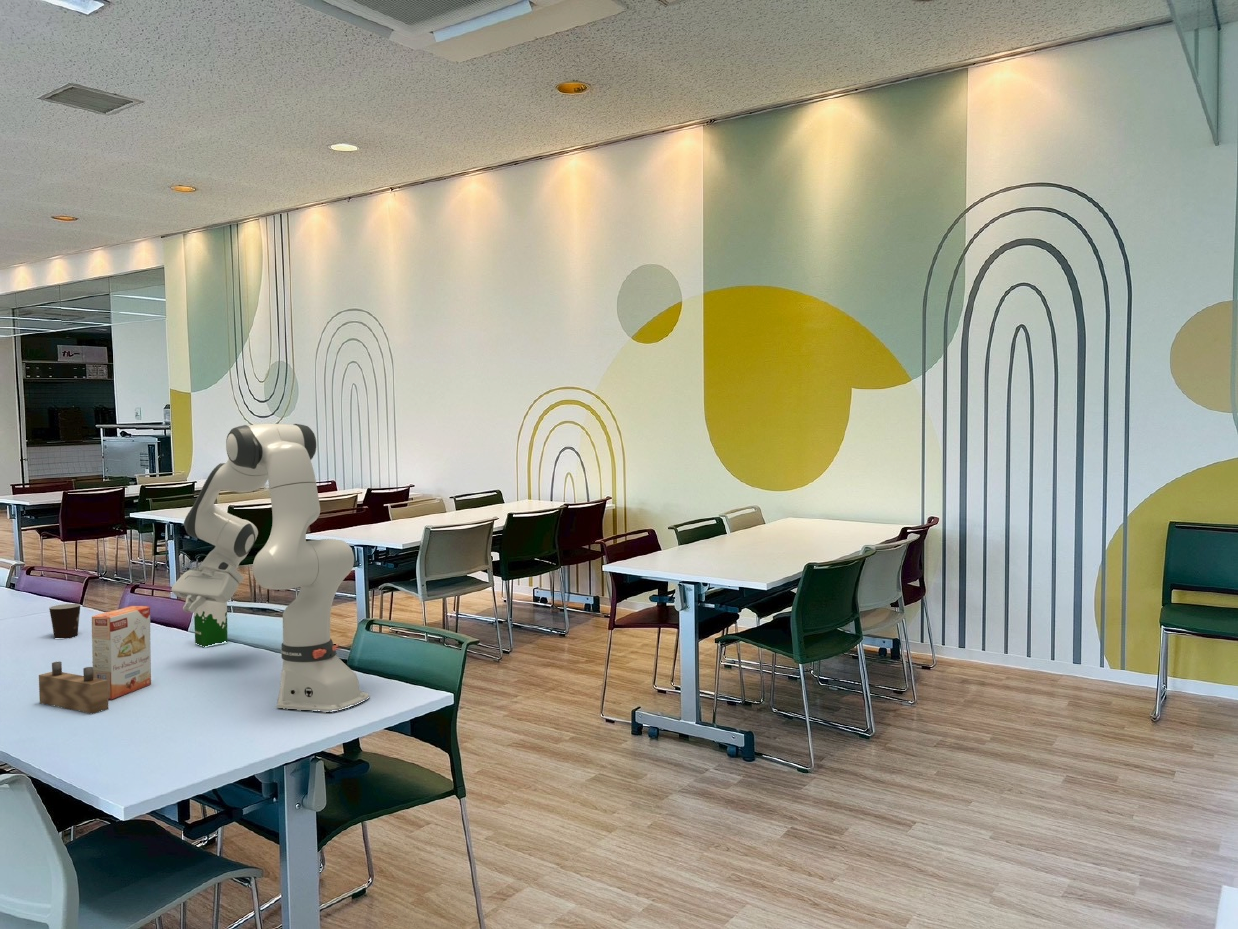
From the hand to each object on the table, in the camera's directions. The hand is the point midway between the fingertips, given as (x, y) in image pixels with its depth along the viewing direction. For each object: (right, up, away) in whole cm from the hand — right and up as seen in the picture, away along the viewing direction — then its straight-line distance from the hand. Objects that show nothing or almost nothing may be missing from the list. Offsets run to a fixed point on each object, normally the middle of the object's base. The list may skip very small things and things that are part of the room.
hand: (187, 611), depth 245 cm
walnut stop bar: (-14, -18, -29) cm, 37 cm away
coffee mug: (-61, -16, +46) cm, 78 cm away
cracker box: (-8, -18, -17) cm, 26 cm away
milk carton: (-9, -16, +33) cm, 38 cm away
